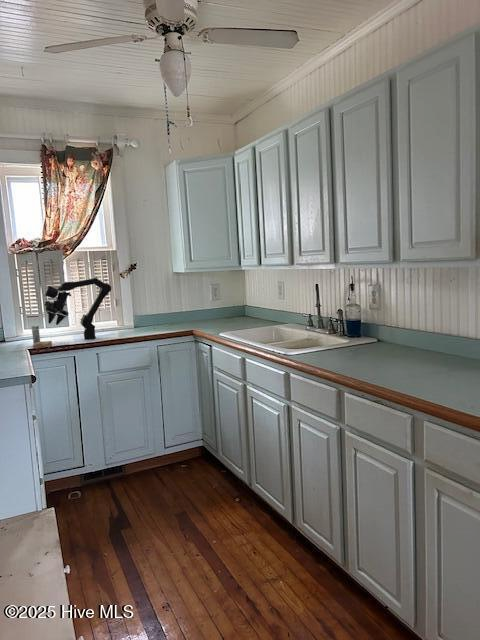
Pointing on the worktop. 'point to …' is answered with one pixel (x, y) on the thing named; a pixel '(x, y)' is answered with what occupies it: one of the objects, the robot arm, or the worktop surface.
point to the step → (42, 344)
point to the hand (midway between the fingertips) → (53, 324)
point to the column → (35, 334)
